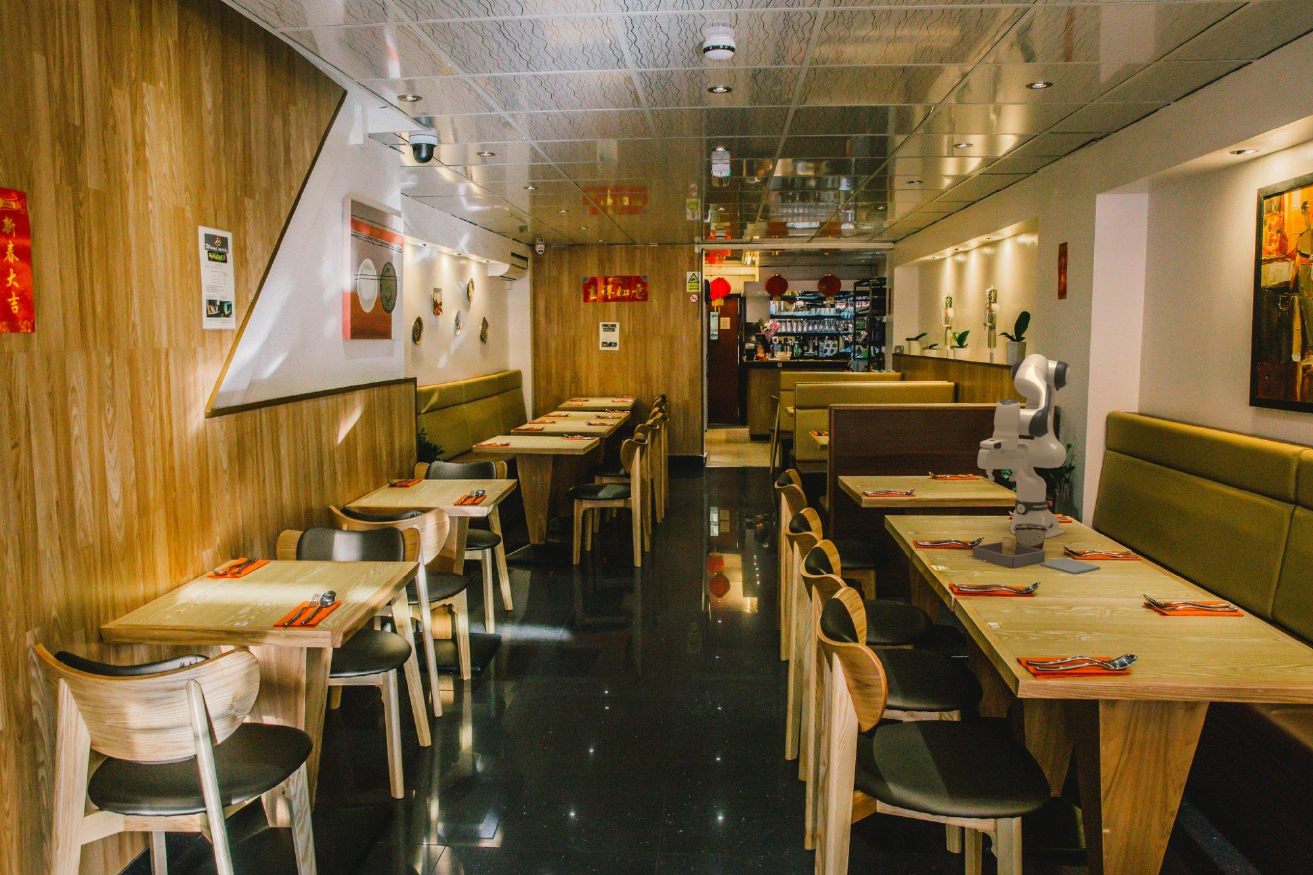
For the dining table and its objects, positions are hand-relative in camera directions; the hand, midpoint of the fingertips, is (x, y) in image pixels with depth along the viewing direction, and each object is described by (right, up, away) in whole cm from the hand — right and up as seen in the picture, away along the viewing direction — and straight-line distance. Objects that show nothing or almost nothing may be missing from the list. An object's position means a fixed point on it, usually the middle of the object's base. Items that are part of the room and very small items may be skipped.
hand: (1001, 481), depth 324 cm
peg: (+2, -29, -1) cm, 29 cm away
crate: (+2, -29, -1) cm, 29 cm away
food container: (+15, -27, +13) cm, 34 cm away
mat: (+20, -30, -11) cm, 38 cm away
